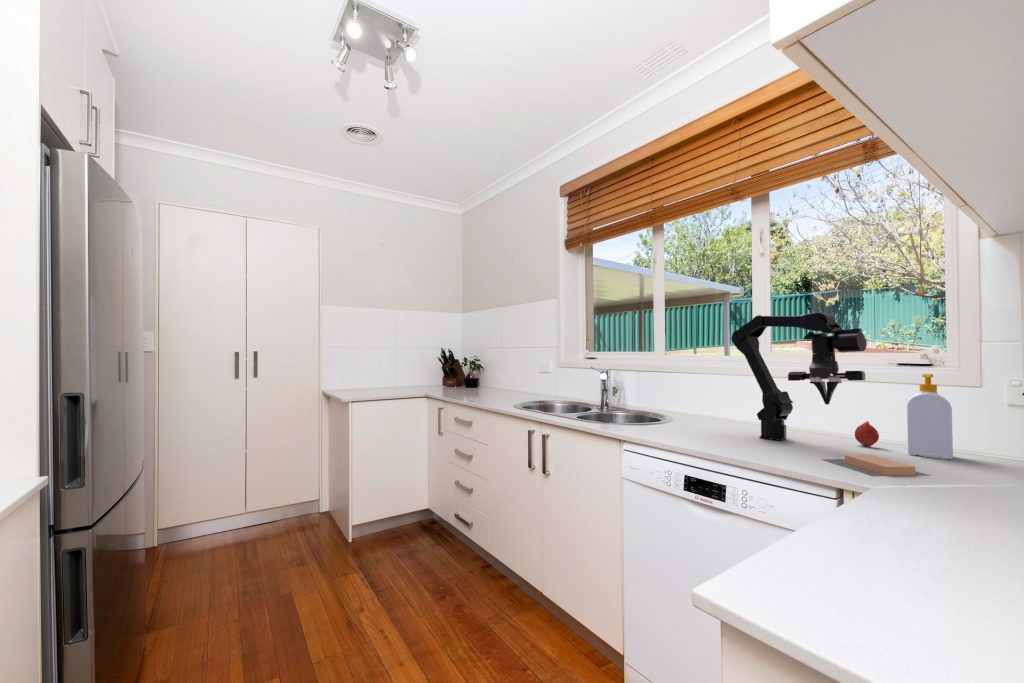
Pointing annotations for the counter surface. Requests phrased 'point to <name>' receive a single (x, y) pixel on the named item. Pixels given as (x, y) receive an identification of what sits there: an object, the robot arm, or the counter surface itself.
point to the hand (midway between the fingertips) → (827, 404)
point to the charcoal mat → (842, 463)
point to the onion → (866, 434)
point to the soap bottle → (929, 423)
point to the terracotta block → (880, 465)
